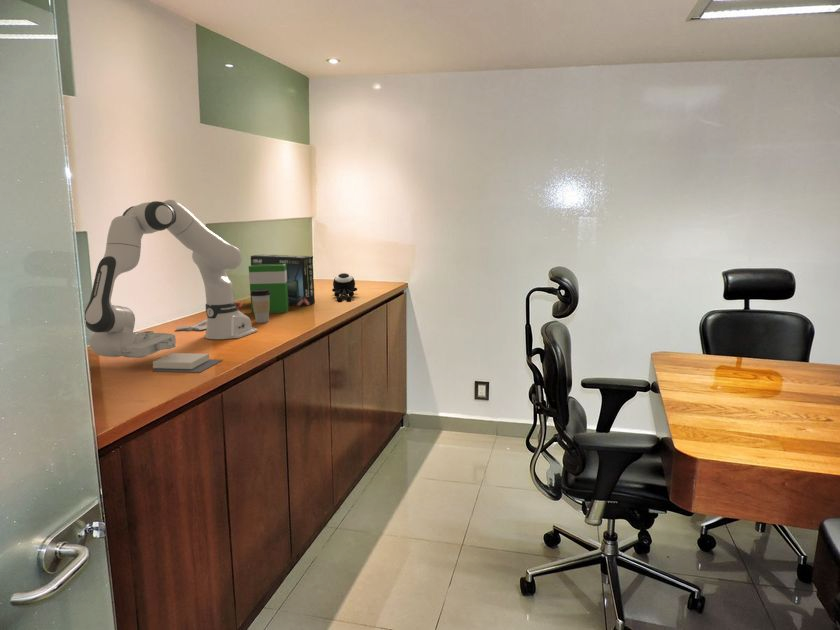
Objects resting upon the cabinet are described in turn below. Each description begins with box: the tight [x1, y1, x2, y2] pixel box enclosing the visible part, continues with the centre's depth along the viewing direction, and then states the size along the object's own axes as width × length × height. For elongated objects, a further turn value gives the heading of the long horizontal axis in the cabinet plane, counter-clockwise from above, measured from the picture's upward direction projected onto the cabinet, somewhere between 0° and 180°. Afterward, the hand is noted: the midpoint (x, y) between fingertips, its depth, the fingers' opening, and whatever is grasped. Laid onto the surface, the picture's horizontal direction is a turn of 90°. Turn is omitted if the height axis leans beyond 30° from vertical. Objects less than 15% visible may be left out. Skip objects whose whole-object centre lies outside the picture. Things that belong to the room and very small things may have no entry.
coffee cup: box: [249, 289, 271, 324], centre depth 283 cm, size 9×9×15 cm
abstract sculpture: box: [331, 272, 358, 303], centre depth 353 cm, size 15×19×32 cm
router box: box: [250, 253, 316, 307], centre depth 334 cm, size 36×11×27 cm, turn 66°
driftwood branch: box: [175, 318, 207, 332], centre depth 280 cm, size 30×14×2 cm, turn 176°
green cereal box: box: [248, 264, 290, 314], centre depth 310 cm, size 18×7×24 cm, turn 94°
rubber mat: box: [152, 358, 223, 374], centre depth 208 cm, size 17×16×1 cm
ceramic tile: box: [152, 352, 210, 369], centre depth 208 cm, size 2×12×14 cm
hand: (173, 345), depth 208 cm, fingers closed
